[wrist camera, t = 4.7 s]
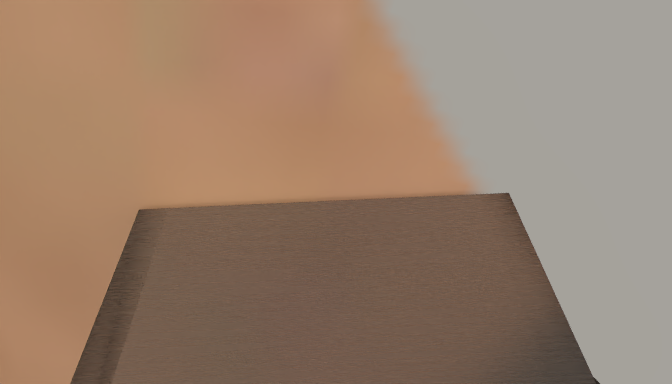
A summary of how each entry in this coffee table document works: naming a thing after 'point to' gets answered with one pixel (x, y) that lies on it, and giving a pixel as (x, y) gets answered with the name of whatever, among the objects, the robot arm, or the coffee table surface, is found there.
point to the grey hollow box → (332, 297)
